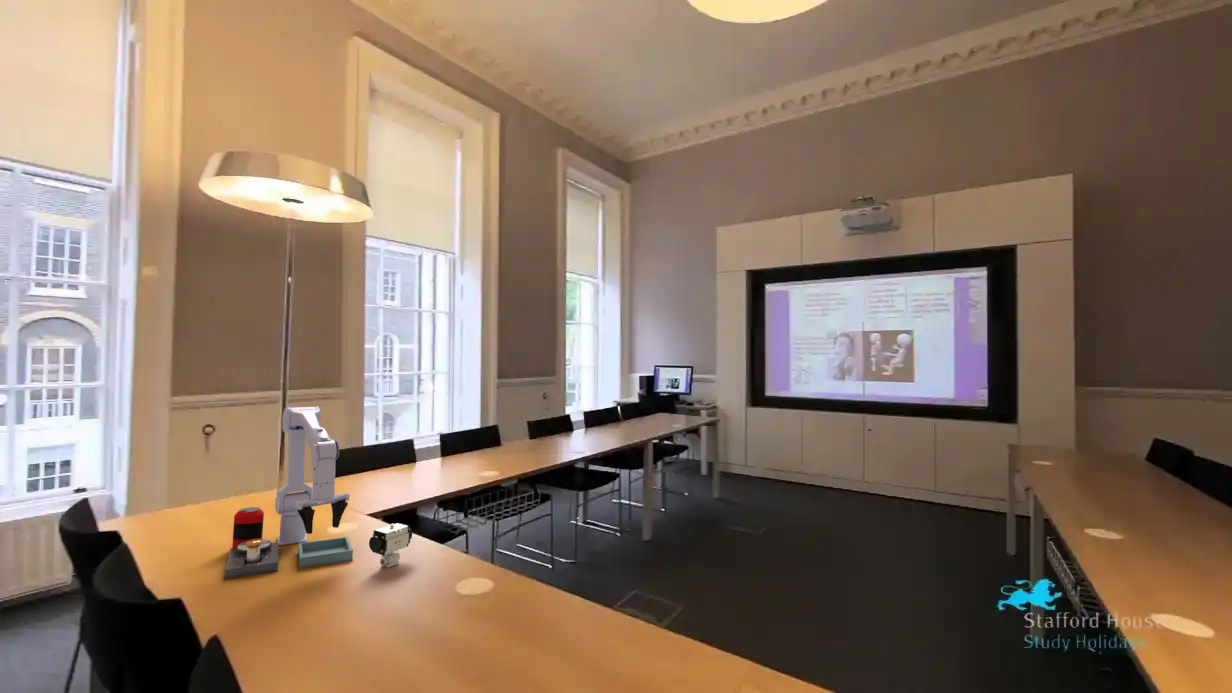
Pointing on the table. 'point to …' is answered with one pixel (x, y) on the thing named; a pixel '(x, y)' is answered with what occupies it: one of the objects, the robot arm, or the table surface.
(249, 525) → the soda can
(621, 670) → the table surface
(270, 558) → the bracket
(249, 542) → the lock pin
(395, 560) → the pneumatic valve
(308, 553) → the tray
